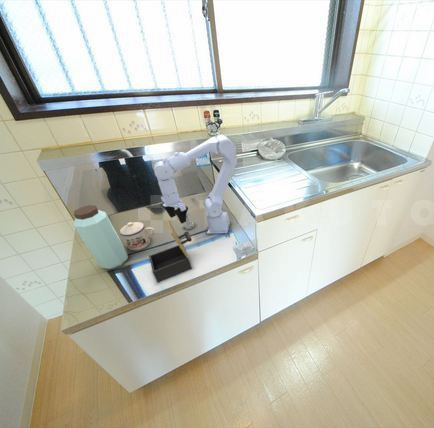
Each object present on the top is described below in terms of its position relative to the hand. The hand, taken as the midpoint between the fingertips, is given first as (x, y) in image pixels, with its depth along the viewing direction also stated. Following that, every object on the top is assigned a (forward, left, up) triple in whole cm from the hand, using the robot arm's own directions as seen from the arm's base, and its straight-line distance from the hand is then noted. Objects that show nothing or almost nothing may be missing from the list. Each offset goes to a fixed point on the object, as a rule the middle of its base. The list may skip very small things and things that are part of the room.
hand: (178, 219), depth 101 cm
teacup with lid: (+17, +3, -11) cm, 20 cm away
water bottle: (+23, +14, -11) cm, 29 cm away
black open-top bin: (-1, +18, -10) cm, 21 cm away
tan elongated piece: (-5, +16, +2) cm, 17 cm away
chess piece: (0, -9, -11) cm, 14 cm away
